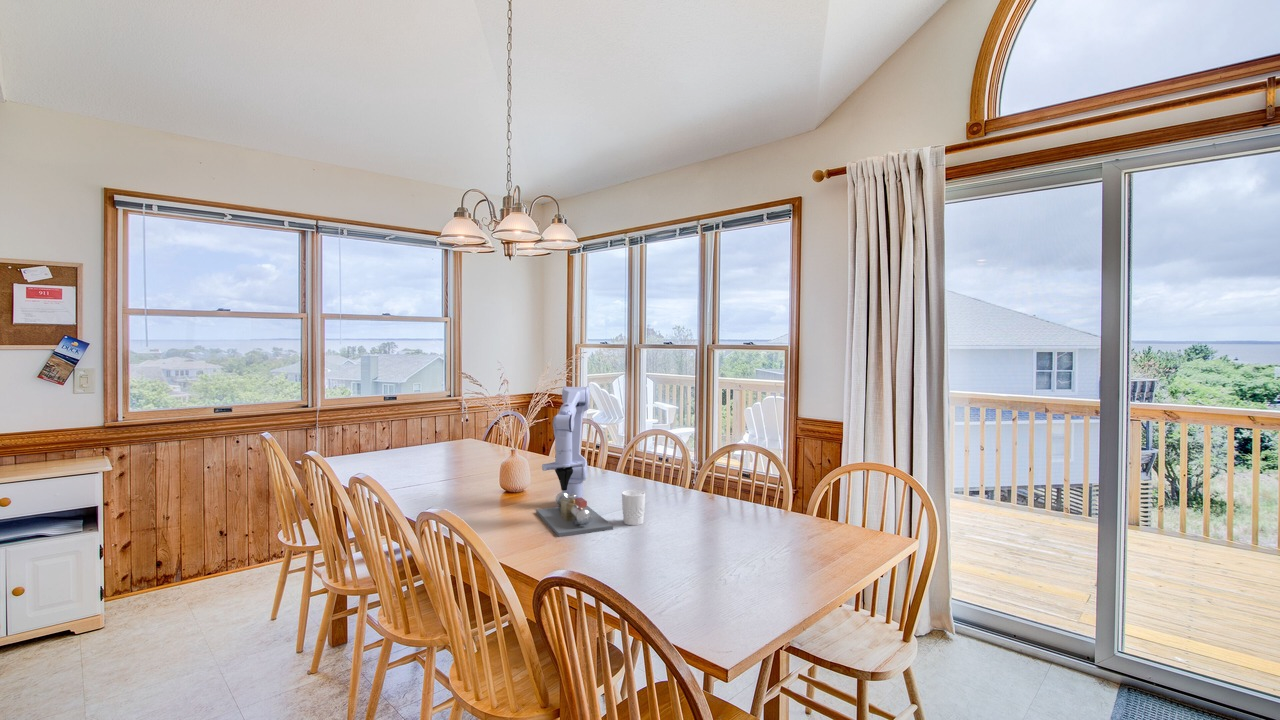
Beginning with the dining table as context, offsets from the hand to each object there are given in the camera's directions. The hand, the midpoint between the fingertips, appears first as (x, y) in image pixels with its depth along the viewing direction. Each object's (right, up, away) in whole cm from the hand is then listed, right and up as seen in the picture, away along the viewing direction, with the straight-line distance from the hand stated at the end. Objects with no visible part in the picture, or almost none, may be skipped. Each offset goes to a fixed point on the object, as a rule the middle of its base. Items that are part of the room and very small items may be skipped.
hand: (563, 489), depth 195 cm
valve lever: (+5, -3, -5) cm, 8 cm away
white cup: (+24, -11, -2) cm, 26 cm away
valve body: (+3, -9, -1) cm, 10 cm away
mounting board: (+3, -10, -1) cm, 11 cm away
